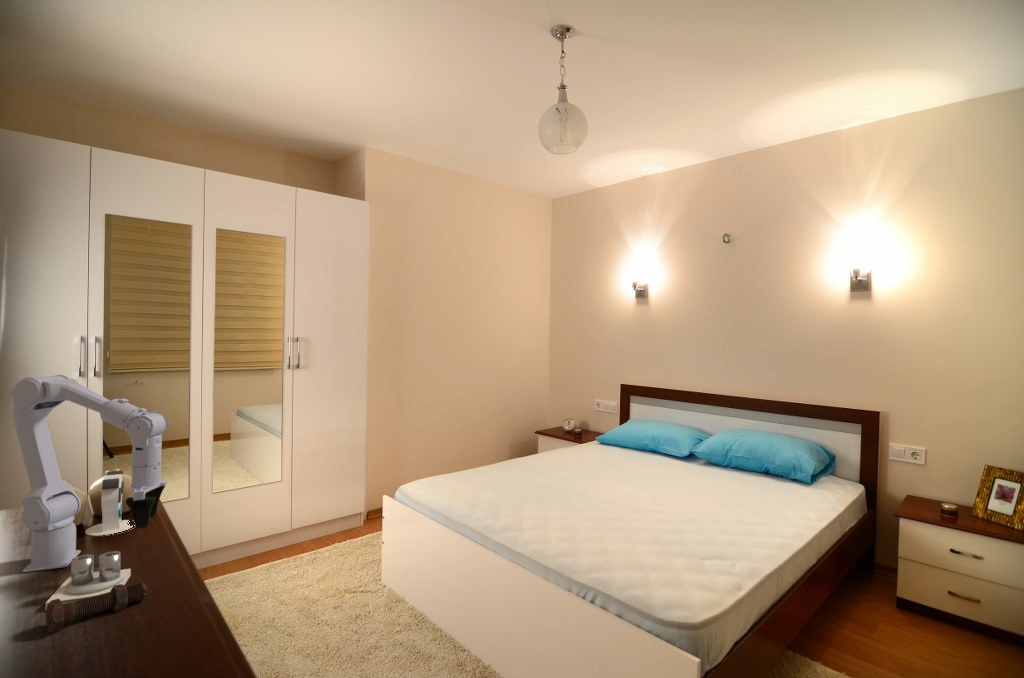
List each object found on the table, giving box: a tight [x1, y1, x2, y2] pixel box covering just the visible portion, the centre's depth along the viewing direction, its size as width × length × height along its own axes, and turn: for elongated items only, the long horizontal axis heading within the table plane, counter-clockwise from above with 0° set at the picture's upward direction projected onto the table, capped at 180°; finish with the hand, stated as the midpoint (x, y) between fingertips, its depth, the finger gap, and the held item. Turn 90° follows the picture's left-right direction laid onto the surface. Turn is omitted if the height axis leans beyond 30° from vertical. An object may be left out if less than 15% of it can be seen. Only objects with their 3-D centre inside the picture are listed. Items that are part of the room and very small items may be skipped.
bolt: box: [45, 582, 148, 634], centre depth 101 cm, size 6×5×15 cm
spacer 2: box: [98, 550, 122, 582], centre depth 110 cm, size 4×4×5 cm
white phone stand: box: [85, 470, 135, 537], centre depth 145 cm, size 12×11×15 cm
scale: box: [44, 568, 132, 612], centre depth 109 cm, size 12×11×2 cm
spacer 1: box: [70, 554, 95, 586], centre depth 109 cm, size 4×4×5 cm
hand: (145, 522), depth 123 cm, fingers open, 7 cm apart
